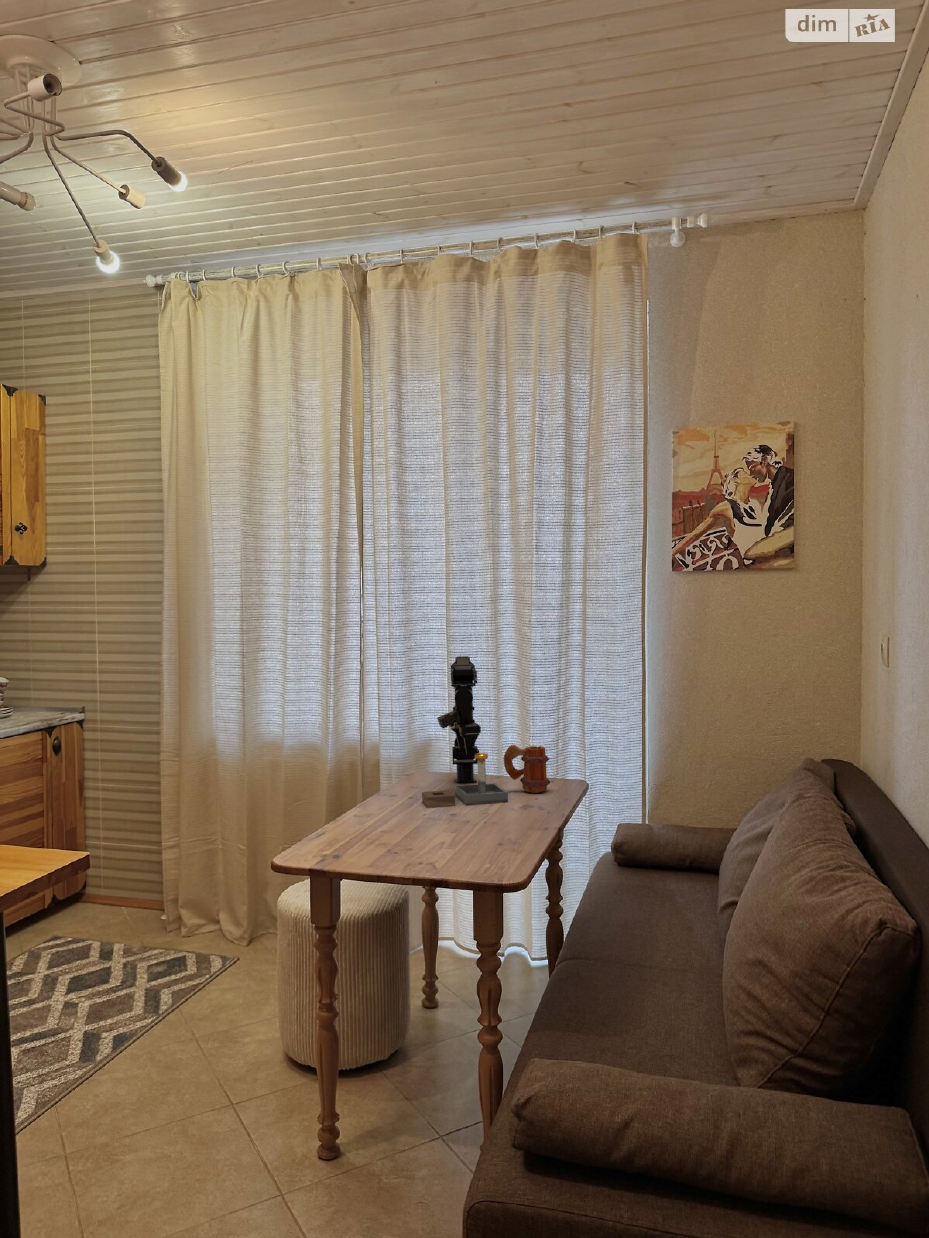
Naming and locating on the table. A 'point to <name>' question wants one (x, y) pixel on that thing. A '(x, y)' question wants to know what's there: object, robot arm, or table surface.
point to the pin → (481, 772)
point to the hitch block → (438, 798)
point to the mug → (528, 767)
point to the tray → (471, 796)
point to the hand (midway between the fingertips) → (465, 752)
